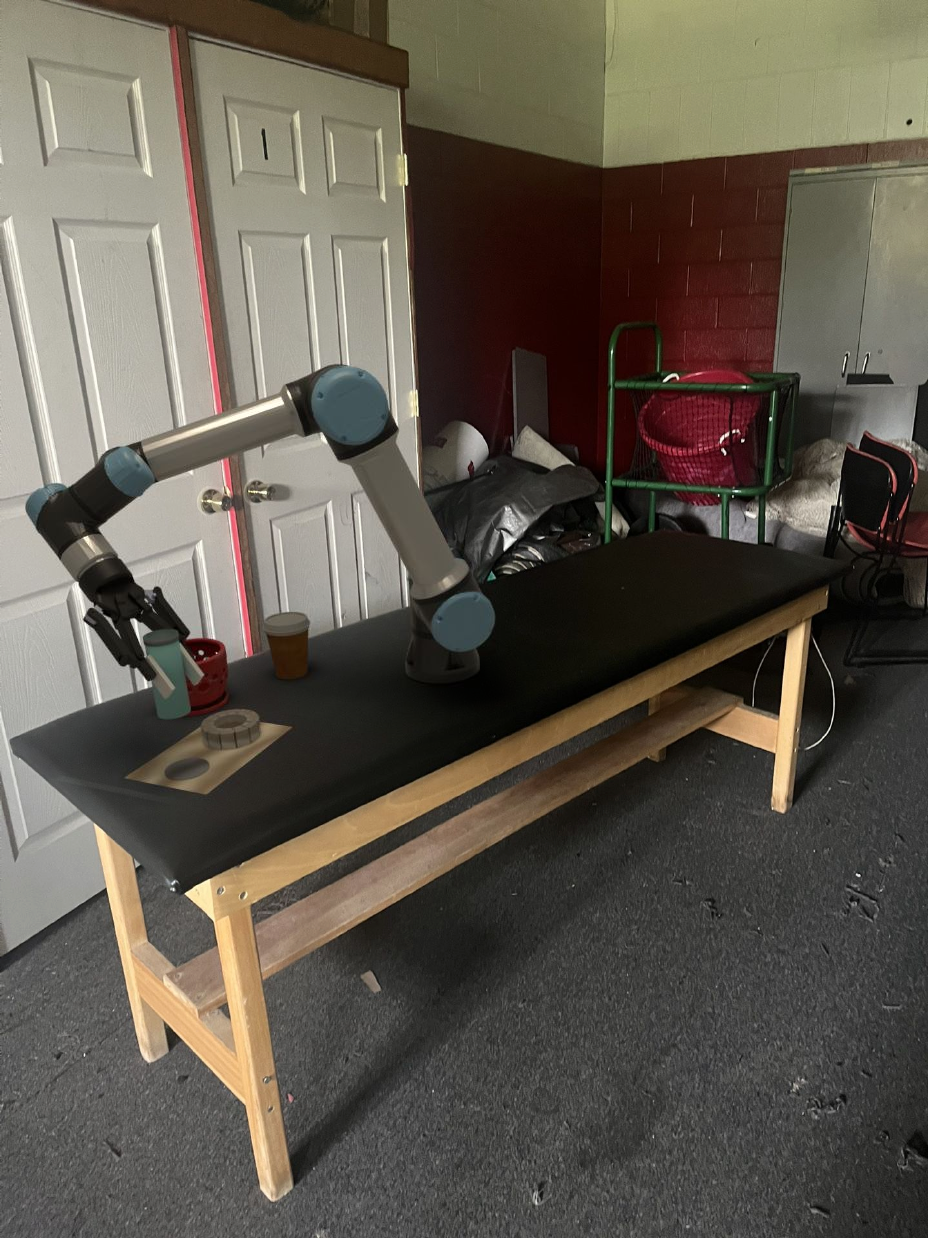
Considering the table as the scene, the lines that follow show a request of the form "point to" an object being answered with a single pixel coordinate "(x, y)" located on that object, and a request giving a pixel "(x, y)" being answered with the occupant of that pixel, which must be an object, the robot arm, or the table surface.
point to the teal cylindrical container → (168, 672)
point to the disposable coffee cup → (288, 643)
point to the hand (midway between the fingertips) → (184, 686)
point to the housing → (210, 752)
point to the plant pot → (208, 676)
